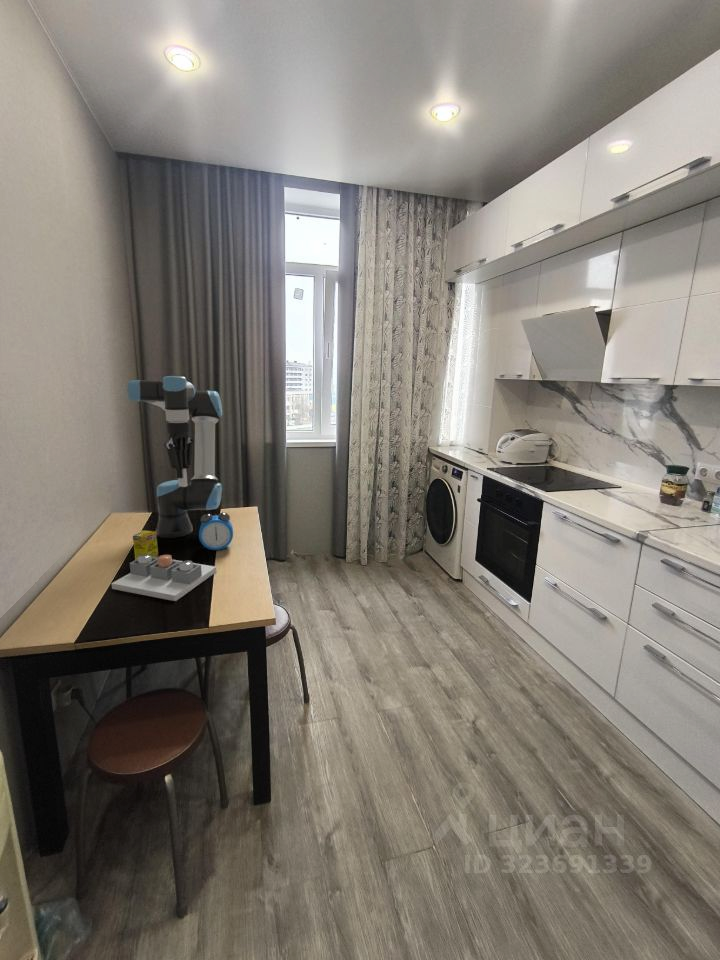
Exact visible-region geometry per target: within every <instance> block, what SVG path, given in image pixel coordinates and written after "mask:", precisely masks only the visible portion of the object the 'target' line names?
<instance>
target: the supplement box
mask: <svg viewBox="0 0 720 960" xmlns="http://www.w3.org/2000/svg"><path fill="white" fill-rule="evenodd" d="M132 542H133V549H134V550H133V551H134V561H135V560H137V559H138V558H137V557H138V556H139V555H142V554H151V556H152V557H156V558H158V557H159V547H158V536H157V535H156V531H154V530H153V531H152V530H145V529H144V530H141V531H140V532H138V533H135V534H132Z"/></svg>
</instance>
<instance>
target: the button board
mask: <svg viewBox="0 0 720 960" xmlns="http://www.w3.org/2000/svg"><path fill="white" fill-rule="evenodd" d="M182 561H183V560H176V559H172V565H171V566H169V567H168V568H162V567H158V558H156V557H152V561H151V562H150V563H148V564H146V565H144V564H138V559H137V560H135V559H134V560H133V561H131V562H129V570H130V572H129V573H128V574H126V575H124V576H122V577H120V578H119V579H117V580H115V581H113V582H111V589H112V590H117V591H121V592H126V593H131V594H137V595H142V596H147V597H152V598H158V599H162V600H168V601H173V602H177V601H178V600H179V599H181V598H182V597H184V596H185V595H186V594H188V593H189V592H191V591H192V590H193V589H195V588H197V586H199V585H200V584H202V583H203V582H205V581H206V580H207V579H209V578H211V576H213V575H215V573H217V566H214V565H207V564H201V563H195V562H193V569H192V570H190V571H189V572H185V571H179V563H180V562H182Z"/></svg>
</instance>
